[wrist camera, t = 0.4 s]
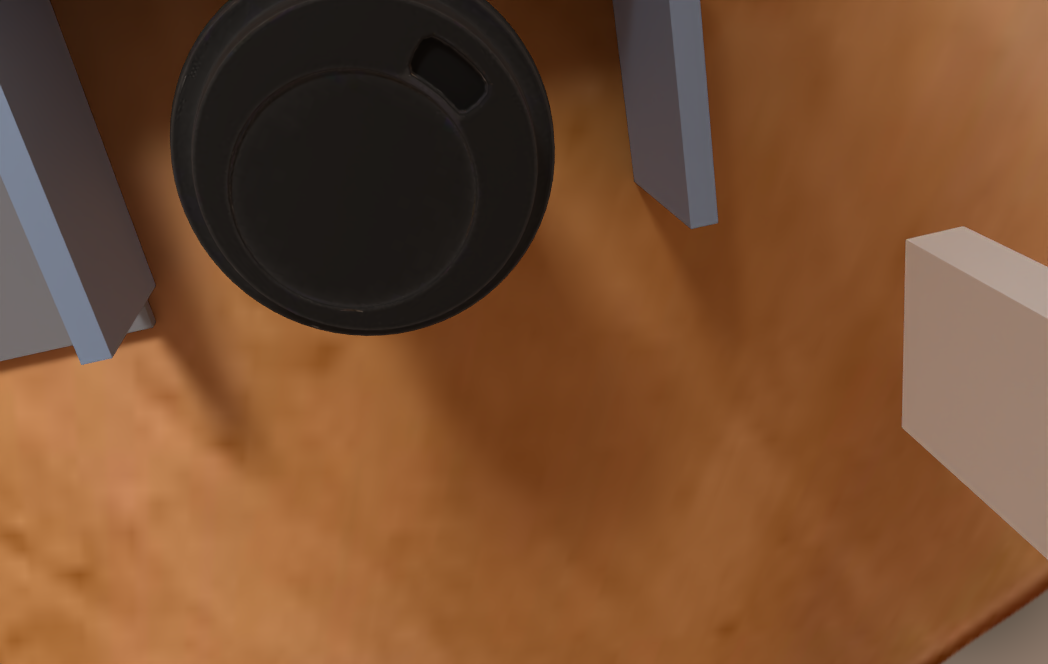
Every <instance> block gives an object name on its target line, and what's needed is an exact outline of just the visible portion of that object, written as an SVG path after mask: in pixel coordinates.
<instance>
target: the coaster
mask: <svg viewBox="0 0 1048 664" xmlns="http://www.w3.org/2000/svg"><path fill="white" fill-rule="evenodd" d="M155 323H156V321H155V318H154V315H153V313H152V310H151V307H150V305H149V302H148V300H147V301H146V303H145V304H144V306H143V308H142V309H141V311H140V313H139V314H138V316H137V318H136V319H135V321H134V323H133V324H132V326H131V328H130V329H129V331H128V333H130V332H135V331H139V330H144V329H148V328H153V326H154V325H155ZM71 345H73V344H72V342H71V339H70V337H69V335H68V332H67V330H66V328H65V325H64V323H63V320H62V318H61V316H60V313H59V311H58V309H57V306H56V304H55V302H54V299H53V297H52V295H51V292H50V290H49V288H48V285H47V283H46V281H45V278H44V276H43V274H42V271H41V269H40V267H39V264H38V262H37V260H36V257H35V255H34V253H33V250H32V248H31V246H30V243H29V241H28V239H27V236H26V234H25V232H24V229H23V227H22V225H21V222H20V220H19V217H18V215H17V213H16V210H15V208H14V206H13V203H12V201H11V199H10V196H9V194H8V192H7V189H6V187H5V185H4V182H3V180H2V178H1V175H0V361H3V360H8V359H12V358H17V357H22V356H26V355H31V354H35V353H40V352H44V351H49V350H53V349H58V348H62V347H67V346H71Z"/></svg>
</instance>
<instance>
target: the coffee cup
mask: <svg viewBox="0 0 1048 664" xmlns="http://www.w3.org/2000/svg"><path fill="white" fill-rule="evenodd" d="M170 146H171V160H172V167H173V174H174V180H175V183H176V187H177V191H178V195H179V198H180V201H181V204H182V207H183V209H184V212H185V214H186V217H187V219H188V221H189V223H190V225H191V227H192V229H193V231H194V233H195V234H196V236H197V238H198V240H199V241H200V243H201V245H202V246H203V247H204V249H205V250H206V252H207V253H208V255H209V256H210V257H211V259H212V260H213V261H214V262H215V263H216V265H217V266H218V267H219V268H220V269H221V271H222V272H223V273H224V274H225V275H226V276H227V277H228V278H229V279H230V280H231V281H232V282H233V283H235V284H236V285H237V286H238V287H239V288H240V289H242V290H243V291H244V292H245V293H246V294H248V295H249V296H251V297H252V298H253V299H255V300H256V301H258V302H259V303H261V304H262V305H264V306H266V307H267V308H269V309H271V310H272V311H274V312H276V313H278V314H280V315H282V316H284V317H286V318H288V319H291V320H293V321H296V322H298V323H301V324H303V325H306V326H310V327H313V328H316V329H320V330H324V331H329V332H333V333H340V334H347V335H361V336H376V335H390V334H399V333H404V332H409V331H414V330H417V329H421V328H424V327H428V326H431V325H434V324H436V323H439V322H442V321H444V320H446V319H448V318H450V317H453V316H455V315H457V314H459V313H460V312H462V311H464V310H465V309H467V308H469V307H471V306H472V305H474V304H475V303H476V302H478V301H479V300H481V299H482V298H484V297H485V296H486V295H487V294H488V293H490V292H491V291H492V290H493V289H494V288H496V287H497V286H498V285H499V284H500V283H501V282H502V281H503V280H504V279H505V278H506V277H507V275H508V274H509V273H510V272H511V271H512V270H513V268H514V267H515V266H516V265H517V264H518V262H519V261H520V259H521V258H522V257H523V255H524V254H525V252H526V251H527V249H528V247H529V246H530V244H531V242H532V240H533V239H534V237H535V235H536V232H537V230H538V228H539V226H540V224H541V221H542V219H543V216H544V213H545V211H546V207H547V204H548V200H549V197H550V192H551V187H552V181H553V173H554V163H555V145H554V131H553V121H552V116H551V110H550V105H549V101H548V97H547V94H546V90H545V87H544V85H543V82H542V79H541V76H540V74H539V72H538V70H537V67H536V65H535V63H534V61H533V59H532V57H531V55H530V54H529V52H528V50H527V48H526V47H525V45H524V43H523V42H522V41H521V39H520V38H519V36H518V35H517V33H516V32H515V30H514V29H513V28H512V27H511V26H510V24H509V23H508V22H507V21H506V20H505V19H504V17H503V16H502V15H501V14H500V13H499V12H498V11H497V10H496V9H495V8H494V7H493V6H492V5H491V4H490V3H489V2H487V1H486V0H229V1H228V2H226V3H225V4H224V5H223V6H222V7H221V8H220V9H219V10H218V12H217V13H216V14H215V15H214V16H213V17H212V18H211V20H210V21H209V22H208V23H207V25H206V26H205V28H204V29H203V30H202V32H201V33H200V35H199V36H198V38H197V40H196V41H195V43H194V45H193V47H192V48H191V50H190V52H189V54H188V56H187V59H186V61H185V63H184V65H183V68H182V71H181V74H180V77H179V80H178V83H177V86H176V90H175V95H174V99H173V105H172V113H171V122H170Z"/></svg>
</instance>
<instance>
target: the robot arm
mask: <svg viewBox="0 0 1048 664" xmlns="http://www.w3.org/2000/svg"><path fill="white" fill-rule="evenodd" d="M902 428H903V429H904V430H905V431H906V432H907V433H909V434H910V435H911V436H912V437H913V438H914V439H915V440H916V441H917V442H918V443H920V444H921V445H922V446H923V447H924V448H925V449H926V450H927V451H928V452H930V453H931V454H932V455H933V456H934V457H935V458H936V459H937V460H938V461H939V462H941V463H942V464H943V465H944V466H945V467H946V468H947V469H948V470H949V471H950V472H952V473H953V474H954V475H955V476H956V477H957V478H958V479H959V480H960V481H962V482H963V483H964V484H965V485H966V486H967V487H968V488H969V489H970V490H971V491H973V492H974V493H975V494H976V495H977V496H978V497H979V498H980V499H981V500H983V501H984V502H985V503H986V504H987V505H988V506H989V507H990V508H991V509H992V510H994V511H995V512H996V513H997V514H998V515H999V516H1000V517H1001V518H1002V519H1004V520H1005V521H1006V522H1007V523H1008V524H1009V525H1010V526H1011V527H1012V528H1013V529H1015V530H1016V531H1017V532H1018V533H1019V534H1020V535H1021V536H1022V537H1023V538H1025V539H1026V540H1027V541H1028V542H1029V543H1030V544H1031V545H1032V546H1033V547H1034V548H1036V549H1037V550H1038V551H1039V552H1040V553H1041V554H1042V555H1043V556H1044V557H1045V558H1047V559H1048V267H1047V266H1045V265H1043V264H1041V263H1039V262H1037V261H1034V260H1032V259H1030V258H1028V257H1026V256H1024V255H1022V254H1020V253H1018V252H1016V251H1014V250H1012V249H1010V248H1008V247H1006V246H1003V245H1001V244H999V243H997V242H995V241H993V240H991V239H989V238H987V237H985V236H983V235H981V234H979V233H977V232H975V231H973V230H970V229H968V228H966V227H964V226H962V227H958V228H953V229H949V230H945V231H940V232H936V233H931V234H927V235H923V236H918V237H914V238H910V239H906V251H905V299H904V348H903V396H902Z"/></svg>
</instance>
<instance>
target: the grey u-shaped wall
mask: <svg viewBox="0 0 1048 664" xmlns="http://www.w3.org/2000/svg"><path fill="white" fill-rule="evenodd" d="M613 8H614V17H615V25H616V33H617V41H618V50H619V58H620V66H621V75H622V83H623V91H624V99H625V108H626V116H627V124H628V133H629V141H630V149H631V157H632V166H633V174H634V182H635V183H637V184H638V185H639V186H640V187H641V188H643V189H644V190H645V191H646V192H647V193H649V194H650V195H651V196H652V197H653V198H655V199H656V200H657V201H658V202H659V203H660V204H662V205H663V206H664V207H665V208H666V209H668V210H669V211H670V212H671V213H672V214H674V215H675V216H676V217H677V218H678V219H680V220H681V221H682V222H683V223H684V224H686V225H687V226H688V227H689V228H690V229H693V228H698V227H702V226H707V225H711V224H716V223H718V214H717V202H716V189H715V177H714V165H713V153H712V140H711V128H710V116H709V104H708V91H707V79H706V67H705V55H704V42H703V30H702V18H701V6H700V0H613ZM0 175H1V178H2V180H3V182H4V185H5V187H6V189H7V192H8V194H9V196H10V199H11V201H12V203H13V206H14V208H15V210H16V213H17V215H18V217H19V220H20V222H21V225H22V227H23V229H24V232H25V234H26V236H27V239H28V241H29V243H30V246H31V248H32V250H33V253H34V255H35V257H36V260H37V262H38V264H39V267H40V269H41V271H42V274H43V276H44V278H45V281H46V283H47V285H48V288H49V290H50V292H51V295H52V297H53V299H54V302H55V304H56V306H57V309H58V311H59V313H60V316H61V318H62V320H63V323H64V325H65V328H66V330H67V332H68V335H69V337H70V339H71V342H72V344H73V346H74V349H75V351H76V353H77V356H78V358H79V360H80V363H81V365H83V364H88V363H92V362H97V361H101V360H106V359H110V358H113V356H114V354H115V353H116V351H117V349H118V348H119V346H120V344H121V343H122V341H123V339H124V338H125V336H126V334H127V333H128V331H129V329H130V328H131V326H132V324H133V323H134V321H135V319H136V318H137V316H138V314H139V313H140V311H141V309H142V308H143V306H144V304H145V303H146V301H147V299H148V298H149V296H150V294H151V293H152V291H153V289H154V288H155V286H156V285H155V282H154V279H153V277H152V274H151V271H150V269H149V266H148V263H147V261H146V258H145V255H144V253H143V250H142V247H141V244H140V242H139V239H138V236H137V234H136V231H135V228H134V226H133V223H132V220H131V218H130V215H129V212H128V209H127V207H126V204H125V201H124V199H123V196H122V193H121V191H120V188H119V185H118V183H117V180H116V177H115V175H114V172H113V169H112V166H111V164H110V161H109V158H108V156H107V153H106V150H105V148H104V145H103V142H102V140H101V137H100V134H99V131H98V129H97V126H96V123H95V121H94V118H93V115H92V113H91V110H90V107H89V105H88V102H87V99H86V97H85V94H84V91H83V88H82V86H81V83H80V80H79V78H78V75H77V72H76V70H75V67H74V64H73V62H72V59H71V56H70V54H69V51H68V48H67V45H66V43H65V40H64V37H63V35H62V32H61V29H60V27H59V24H58V21H57V19H56V16H55V13H54V10H53V8H52V5H51V2H50V0H0Z"/></svg>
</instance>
